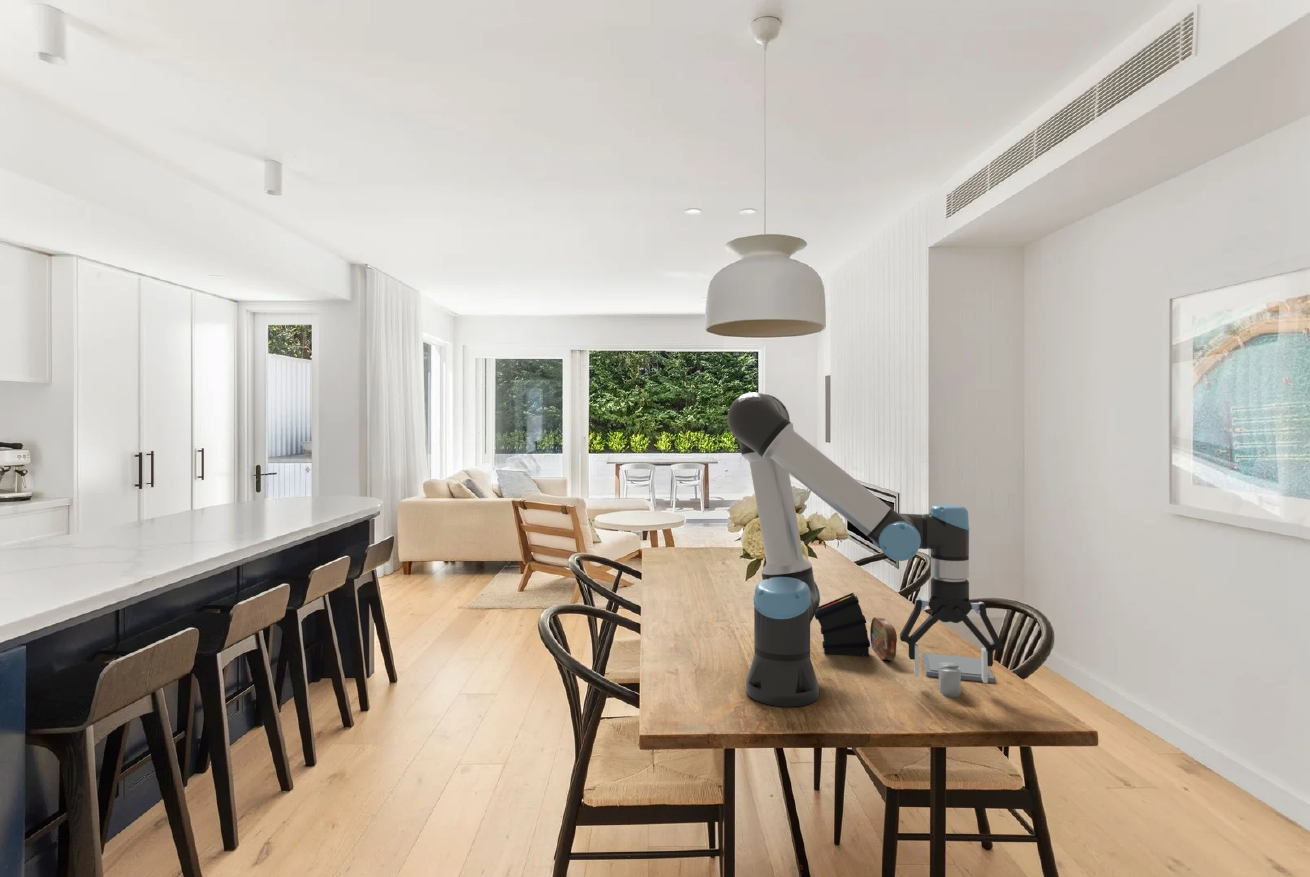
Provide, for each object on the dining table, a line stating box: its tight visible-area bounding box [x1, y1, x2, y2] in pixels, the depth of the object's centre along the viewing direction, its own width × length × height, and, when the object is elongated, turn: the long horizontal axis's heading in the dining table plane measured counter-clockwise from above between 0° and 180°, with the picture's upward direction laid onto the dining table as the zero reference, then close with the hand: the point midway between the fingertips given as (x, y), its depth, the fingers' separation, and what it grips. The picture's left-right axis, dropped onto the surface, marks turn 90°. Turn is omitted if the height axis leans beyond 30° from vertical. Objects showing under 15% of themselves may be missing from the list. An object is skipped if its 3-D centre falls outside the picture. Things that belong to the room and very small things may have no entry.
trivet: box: [921, 652, 996, 684], centre depth 159 cm, size 14×14×1 cm
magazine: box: [814, 592, 871, 657], centre depth 171 cm, size 4×13×15 cm, turn 78°
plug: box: [938, 662, 962, 698], centre depth 147 cm, size 4×9×5 cm, turn 163°
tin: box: [869, 617, 898, 661], centre depth 170 cm, size 15×3×8 cm, turn 177°
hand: (949, 677), depth 146 cm, fingers open, 13 cm apart
